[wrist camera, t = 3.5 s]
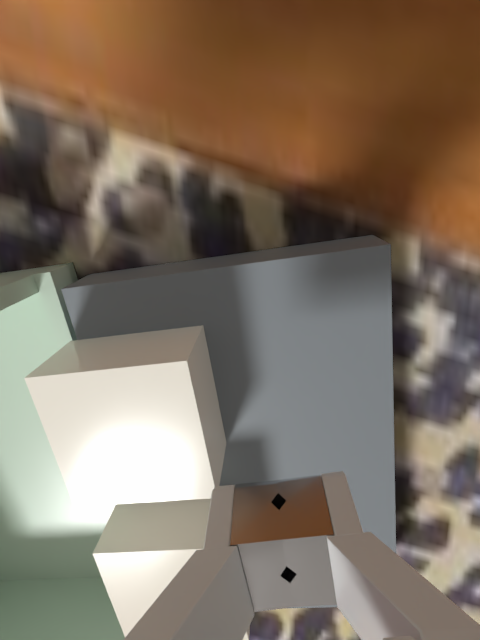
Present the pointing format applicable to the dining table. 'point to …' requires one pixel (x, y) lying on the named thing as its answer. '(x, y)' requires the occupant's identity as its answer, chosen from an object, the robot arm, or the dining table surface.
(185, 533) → the tile back
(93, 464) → the tile front
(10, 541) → the bin
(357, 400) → the slate plate
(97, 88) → the dining table surface
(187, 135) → the dining table surface
